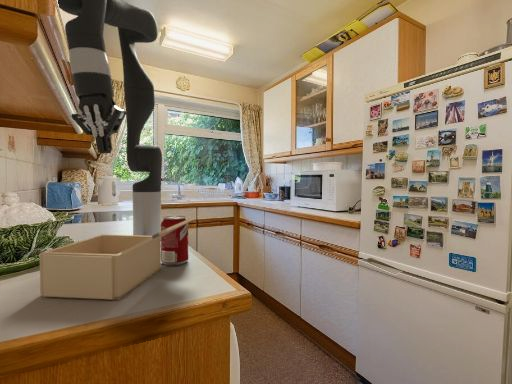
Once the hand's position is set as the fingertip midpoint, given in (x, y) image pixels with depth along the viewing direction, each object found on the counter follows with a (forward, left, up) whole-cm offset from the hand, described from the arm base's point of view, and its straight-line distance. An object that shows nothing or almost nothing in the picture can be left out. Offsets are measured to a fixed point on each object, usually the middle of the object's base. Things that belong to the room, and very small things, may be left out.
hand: (105, 153), depth 63 cm
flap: (+11, +9, -19) cm, 24 cm away
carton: (+8, +2, -27) cm, 29 cm away
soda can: (-2, +15, -28) cm, 32 cm away
